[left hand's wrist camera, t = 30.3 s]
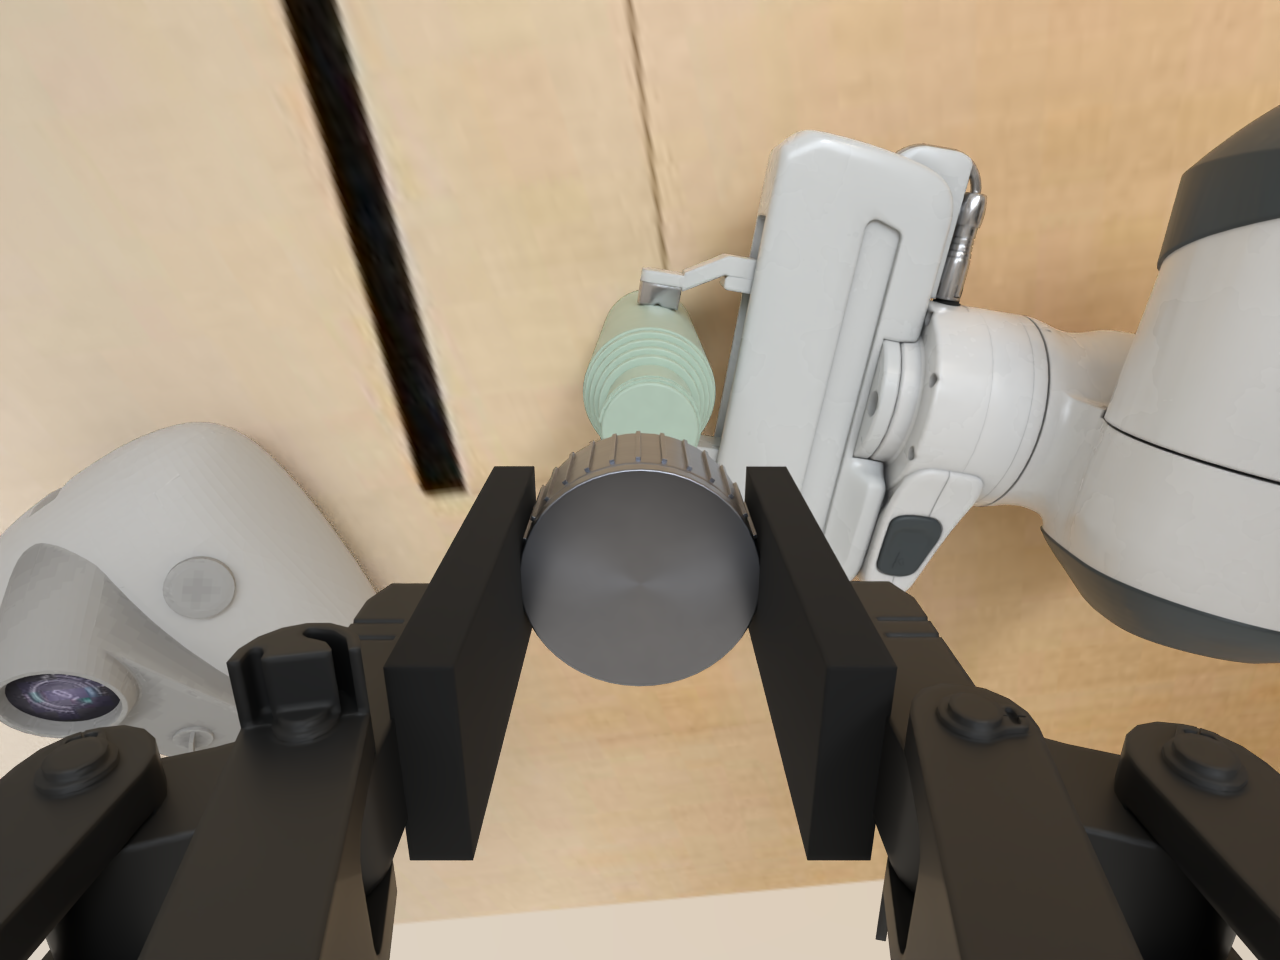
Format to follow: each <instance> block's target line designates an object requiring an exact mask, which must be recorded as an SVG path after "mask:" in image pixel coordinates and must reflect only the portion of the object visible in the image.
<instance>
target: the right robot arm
mask: <svg viewBox="0 0 1280 960" xmlns="http://www.w3.org/2000/svg"><path fill="white" fill-rule="evenodd" d="M969 179H970V184H971V191H970V192H965V191H966V188H967V184H968V181H969ZM986 205H987V196H986V195H984V194H981V178H980V173H979V171H978V168H977V167H976V165H975V163H974V162H973V160H972V159H971V158H970V157H969V156H968V155H966V154H965V153H963V152H961V151H959V150H957V149H952V148H946V147H940V146H935V145H929V144H913V145H909V146H907V147H904V148H902V149H900V150H898V151H897V152H896V153H894V152H891V151H889V150H886V149H883V148H880V147H877V146H874V145H871V144H868V143H864V142H861V141H858V140H854V139H851V138H847V137H843V136H839V135H835V134H831V133H826V132H821V131H816V130H802V131H798V132H796V133H794V134H792V135H790V136H789V137H787V138H786V139H784V140H783V141H782V142H780V143H779V144H778V145H777V146H776V147H774V148H773V150H772V151H771V153H770V155H769V159H768V164H767V169H766V174H765V179H764V184H763V189H762V194H761V199H760V204H759V209H758V214H757V220H756V225H755V230H754V235H753V240H752V245H751V250H750V255H749V257H744V256H737V255H731V254H725V253H723V254H721V255H718V256H716V257H713V258H711V259H708V260H706V261H703V262H701V263H699V264H696V265H694V266H691V267H689V268H686V269H684V270H683V271H682V273H681V272H675V271H669V270H663V269H657V268H650V267H642V273H641V279H640V286H639V293H638V300H637V303H639V304H643V305H653V306H654V305H656V304H659V305H660V306H661V307H664V308H667V309H673V310H678V306H679V300H680V295H681V290H682V291H685V290H688V289H690V288H693V287H695V286H698V285H701V284H703V283H706V282H709V281H711V280H714V279H716V278H719V277H720V281H719V283H720V284H721V286H722V287H723V288H724V289H726V290H730V291H735V292H741V293H742V296H741V301H740V306H739V311H738V316H737V321H736V326H735V331H734V336H733V341H732V346H731V352H730V357H729V362H728V367H727V372H726V377H725V382H724V387H723V392H722V397H721V402H720V407H719V412H718V418H717V423H716V428H715V433H714V436H707V435H701V437H700V439H699V442H698V445H697V448H698V449H699V450H701V451H702V452H703V451H704V450H705V451H707V452H708V455H709V456H710V457H711V458H712V459H713V460H714V461H715V462H716V463H718V464H719V465H720V466H721V465H723V466H724V467H725V469H726V472H727V475H728V476H729V478H730V479H731V481H732V482H733V483H735V482H736V483H737V484H738V487H739V490H740V493H741V496H742V498H743V501H744V500H745V481H746V466H786V467H787V469H788V471H789V473H790V474H791V476H792V478H793V480H794V482H795V483H796V485H797V487H798V489H799V491H800V492H801V494H802V496H803V498H804V500H805V501H806V503H807V505H808V507H809V509H810V510H811V512H812V514H813V516H814V518H815V519H816V521H817V523H818V525H819V527H820V528H821V530H822V532H823V534H824V536H825V537H826V539H827V541H828V543H829V545H830V546H831V548H832V550H833V552H834V554H835V555H836V557H837V559H838V561H839V563H840V564H841V566H842V568H843V570H844V572H845V573H846V575H847V577H848V579H849V581H852V580H853V579H854V577H855V576H857V577H858V579H859V580H860V581H890V582H891V583H893V584H894V585H896V586H897V587H899V588H900V589H902V590H903V591H905V592H906V591H907V590H908V589H909V588H910V587H911V586H912V585H913V583H914V582H915V581H916V579H917V578H918V576H919V575H920V573H921V572H922V571H923V569H924V568H925V566H926V565H927V563H928V562H929V561H930V559H931V558H932V556H933V555H934V553H935V552H936V551H937V549H938V548H939V547H940V545H941V544H942V543H943V541H944V540H945V539H946V537H947V536H948V535H949V533H950V532H951V531H952V530H953V528H954V527H955V526H956V525H957V523H958V522H959V521H960V520H961V519H962V518H963V516H964V515H965V514H966V513H967V512H968V511H969V510H970V508H971V507H972V506H977V507H984V506H997V505H1016V506H1022V507H1025V508H1028V509H1030V510H1032V511H1034V512H1036V513H1038V514H1039V515H1040V516H1041V518H1042V521H1043V525H1042V526H1041V527H1040V528H1041V531H1042V533H1043V535H1044V537H1045V539H1046V541H1047V543H1048V545H1049V546H1050V548H1051V550H1052V551H1053V553H1054V554H1055V556H1056V558H1057V559H1058V560H1059V562H1060V563H1061V565H1062V566H1063V568H1064V569H1065V571H1066V572H1067V574H1068V575H1069V577H1070V578H1071V580H1072V581H1073V583H1074V584H1075V586H1076V587H1077V589H1078V590H1079V592H1080V594H1081V595H1082V596H1083V597H1084V599H1085V600H1086V601H1087V602H1088V603H1089V604H1090V605H1091V606H1092V607H1093V608H1094V609H1095V610H1096V611H1098V612H1099V613H1100V614H1101V615H1103V616H1104V617H1105V618H1107V619H1108V620H1110V621H1111V622H1112V623H1114V624H1115V625H1117V626H1119V627H1120V628H1122V629H1124V630H1126V631H1128V632H1130V633H1132V634H1134V635H1136V636H1139V637H1141V638H1144V639H1146V640H1149V641H1152V642H1155V643H1158V644H1161V645H1164V646H1167V647H1171V648H1174V649H1178V650H1182V651H1186V652H1190V653H1194V654H1198V655H1202V656H1207V657H1212V658H1217V659H1222V660H1228V661H1235V662H1242V663H1254V664H1259V663H1280V105H1279V106H1277V107H1275V108H1274V109H1272V110H1270V111H1269V112H1267V113H1265V114H1264V115H1262V116H1261V117H1259V118H1257V119H1256V120H1254V121H1253V122H1251V123H1250V124H1248V125H1247V126H1245V127H1244V128H1242V129H1241V130H1239V131H1238V132H1236V133H1235V134H1234V135H1232V136H1231V137H1230V138H1228V139H1227V140H1226V141H1224V142H1223V143H1221V144H1220V145H1219V146H1217V147H1216V148H1215V149H1213V150H1212V151H1211V152H1209V153H1208V154H1207V155H1206V156H1204V157H1203V158H1202V159H1201V160H1199V161H1198V162H1197V163H1196V164H1195V165H1193V166H1192V167H1191V168H1190V169H1188V170H1187V171H1186V172H1185V173H1184V174H1183V175H1182V177H1181V181H1180V184H1179V188H1178V191H1177V195H1176V198H1175V202H1174V206H1173V209H1172V213H1171V216H1170V220H1169V223H1168V227H1167V231H1166V234H1165V238H1164V241H1163V245H1162V249H1161V252H1160V256H1159V259H1158V263H1157V269H1158V271H1159V273H1158V276H1157V278H1156V281H1155V284H1154V286H1153V289H1152V292H1151V294H1150V297H1149V300H1148V302H1147V305H1146V308H1145V310H1144V313H1143V315H1142V318H1141V321H1140V323H1139V326H1138V329H1137V331H1136V334H1135V333H1129V332H1124V331H1116V330H1095V331H1088V332H1079V333H1075V332H1066V331H1062V330H1059V329H1056V328H1054V327H1051V326H1050V325H1048V324H1046V323H1044V322H1042V321H1040V320H1038V319H1035V318H1032V317H1029V316H1024V315H1019V314H1012V313H1006V312H1000V311H994V310H988V309H982V308H976V307H969V306H964V305H961V304H959V301H960V297H961V294H962V291H963V287H964V283H965V280H966V276H967V273H968V269H969V265H970V259H971V252H972V248H973V247H972V246H973V244H974V239H975V237H976V234H977V230H978V228H980V227H981V224H982V221H983V218H984V215H985V211H986ZM930 298H933V301H931V300H930ZM935 298H936V299H935Z"/></svg>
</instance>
